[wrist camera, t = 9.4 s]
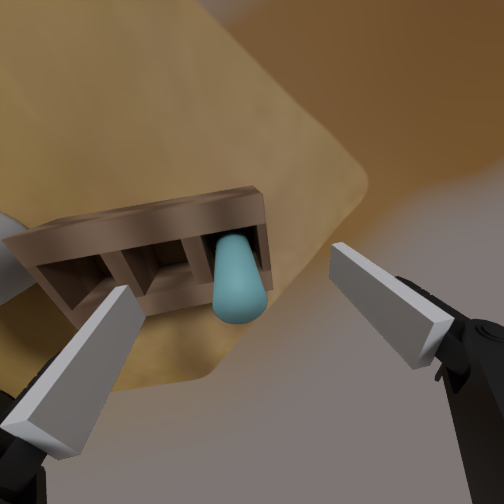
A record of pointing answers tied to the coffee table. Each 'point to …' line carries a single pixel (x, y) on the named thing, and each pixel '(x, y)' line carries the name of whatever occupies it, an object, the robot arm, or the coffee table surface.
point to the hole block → (140, 252)
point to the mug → (11, 263)
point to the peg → (236, 279)
